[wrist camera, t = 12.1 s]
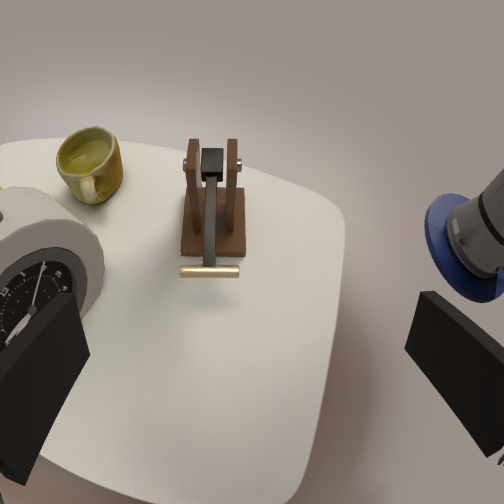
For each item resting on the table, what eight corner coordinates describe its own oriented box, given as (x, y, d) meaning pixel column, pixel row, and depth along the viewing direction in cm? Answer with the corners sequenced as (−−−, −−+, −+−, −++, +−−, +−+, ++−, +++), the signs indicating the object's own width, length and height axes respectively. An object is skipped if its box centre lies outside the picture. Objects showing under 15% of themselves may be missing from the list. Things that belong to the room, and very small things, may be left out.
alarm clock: (29, 395, 27) (-89, 367, 10) (-1, 357, 28) (-107, 308, 11) (119, 269, 36) (53, 160, 19) (84, 241, 38) (17, 136, 20)
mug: (66, 157, 42) (61, 118, 33) (123, 158, 46) (129, 120, 38) (56, 226, 39) (44, 195, 30) (119, 226, 43) (122, 196, 35)
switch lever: (238, 279, 30) (239, 276, 28) (181, 278, 30) (178, 276, 27) (238, 159, 33) (239, 148, 30) (188, 158, 32) (185, 148, 30)
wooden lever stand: (245, 256, 39) (254, 192, 27) (181, 255, 38) (165, 192, 27) (243, 193, 43) (250, 123, 32) (187, 192, 43) (178, 122, 31)
